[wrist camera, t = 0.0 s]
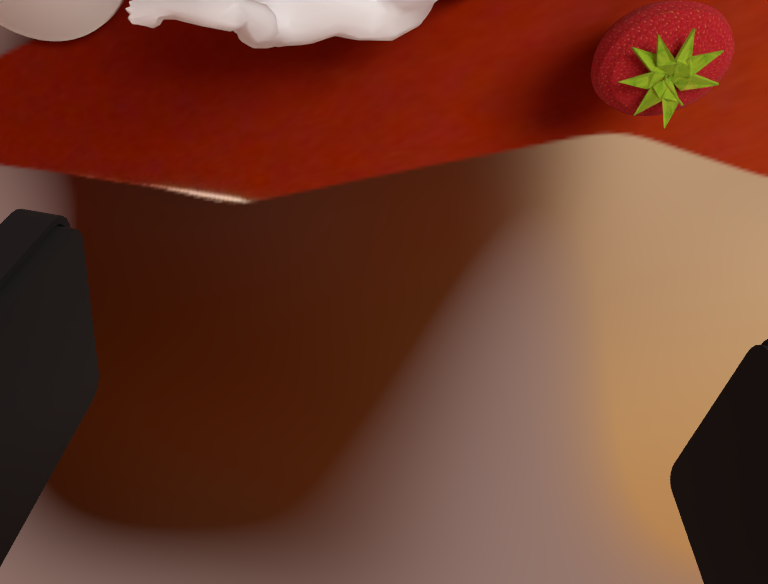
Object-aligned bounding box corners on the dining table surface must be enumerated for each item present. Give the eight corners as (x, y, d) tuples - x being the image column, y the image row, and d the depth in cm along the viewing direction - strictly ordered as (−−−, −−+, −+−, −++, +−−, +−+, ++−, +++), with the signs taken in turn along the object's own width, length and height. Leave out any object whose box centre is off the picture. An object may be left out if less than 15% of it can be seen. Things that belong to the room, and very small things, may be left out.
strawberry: (704, 56, 42) (769, 118, 34) (584, 96, 44) (618, 162, 36) (695, -40, 39) (763, 2, 31) (565, 6, 41) (598, 58, 33)
